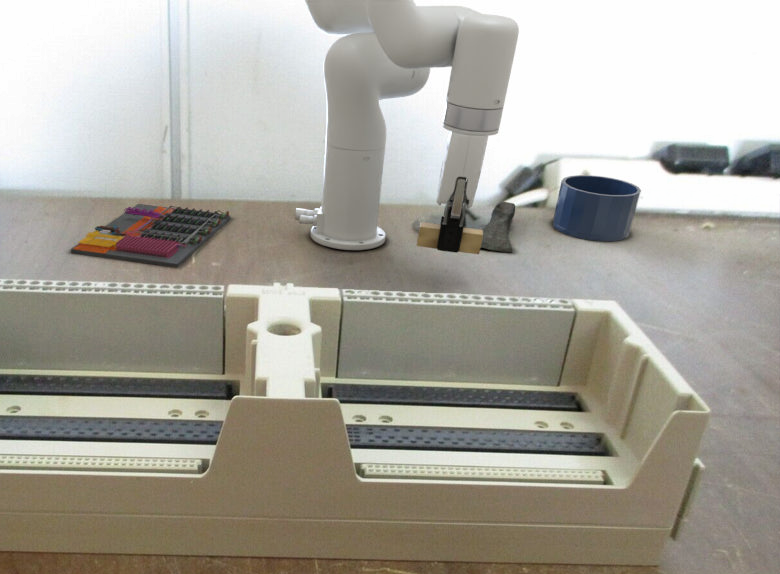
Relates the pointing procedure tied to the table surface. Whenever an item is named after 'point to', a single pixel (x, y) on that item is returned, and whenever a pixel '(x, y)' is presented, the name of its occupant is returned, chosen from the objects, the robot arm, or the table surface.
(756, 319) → the table surface
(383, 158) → the robot arm
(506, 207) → the tool
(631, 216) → the blue open cylinder
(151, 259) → the circuit board
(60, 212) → the table surface
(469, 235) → the wooden rectangular block
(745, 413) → the table surface
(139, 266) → the table surface
